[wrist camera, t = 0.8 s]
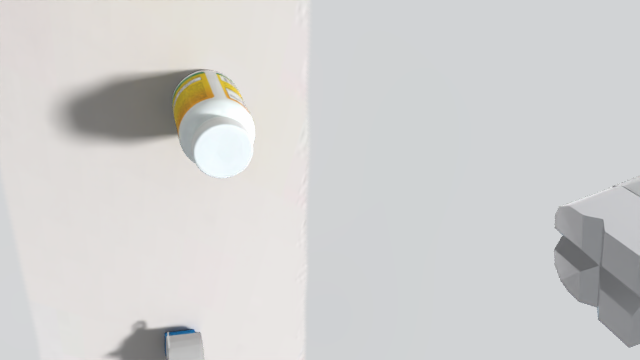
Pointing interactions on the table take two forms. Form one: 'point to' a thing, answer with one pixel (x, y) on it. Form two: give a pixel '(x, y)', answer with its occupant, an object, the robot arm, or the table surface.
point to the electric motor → (184, 345)
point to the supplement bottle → (213, 123)
